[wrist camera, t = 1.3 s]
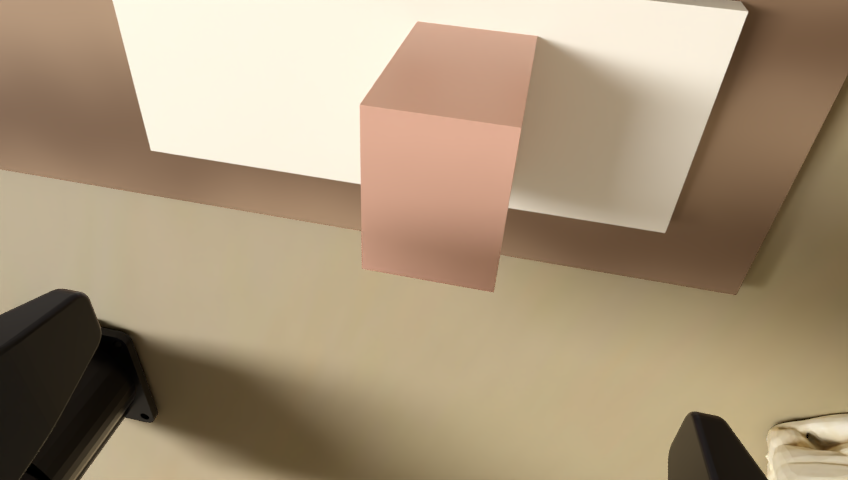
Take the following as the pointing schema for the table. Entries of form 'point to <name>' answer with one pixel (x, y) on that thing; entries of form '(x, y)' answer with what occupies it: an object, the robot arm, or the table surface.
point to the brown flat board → (341, 201)
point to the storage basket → (809, 449)
